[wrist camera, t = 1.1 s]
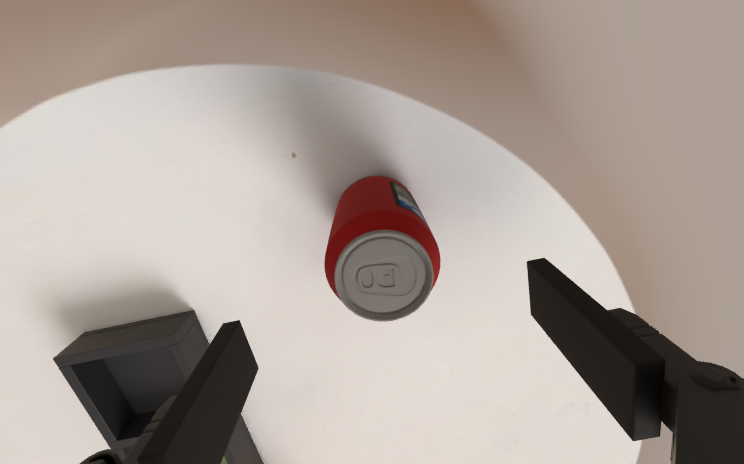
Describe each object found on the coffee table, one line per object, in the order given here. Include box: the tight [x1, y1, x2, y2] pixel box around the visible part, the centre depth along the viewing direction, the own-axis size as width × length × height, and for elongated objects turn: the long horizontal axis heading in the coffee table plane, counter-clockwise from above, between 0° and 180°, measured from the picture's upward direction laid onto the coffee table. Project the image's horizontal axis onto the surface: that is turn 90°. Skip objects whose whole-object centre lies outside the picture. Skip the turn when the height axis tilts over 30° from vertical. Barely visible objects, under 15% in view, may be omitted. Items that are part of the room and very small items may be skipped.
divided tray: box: [53, 311, 263, 464], centre depth 35 cm, size 21×11×4 cm, turn 12°
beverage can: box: [325, 176, 440, 321], centre depth 25 cm, size 7×7×12 cm
